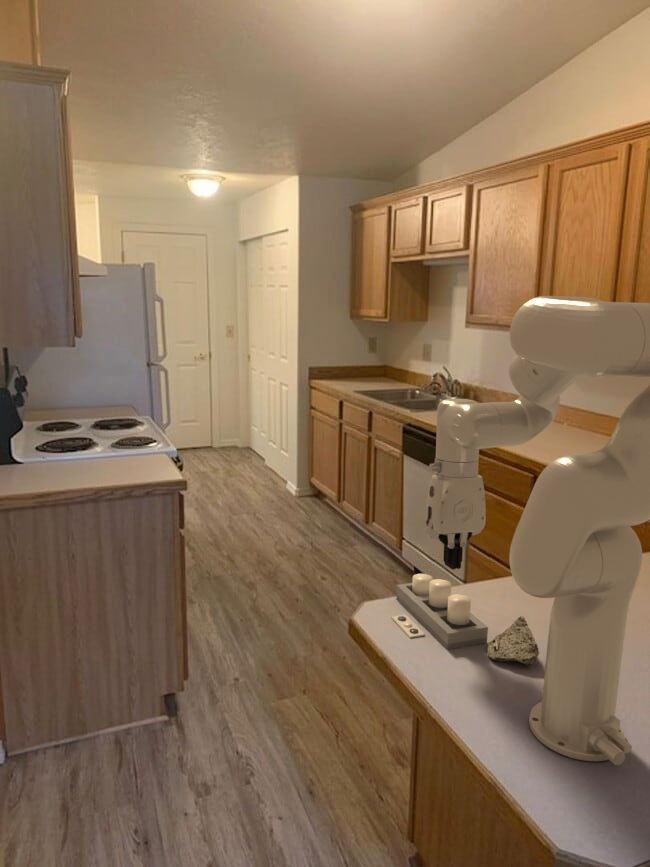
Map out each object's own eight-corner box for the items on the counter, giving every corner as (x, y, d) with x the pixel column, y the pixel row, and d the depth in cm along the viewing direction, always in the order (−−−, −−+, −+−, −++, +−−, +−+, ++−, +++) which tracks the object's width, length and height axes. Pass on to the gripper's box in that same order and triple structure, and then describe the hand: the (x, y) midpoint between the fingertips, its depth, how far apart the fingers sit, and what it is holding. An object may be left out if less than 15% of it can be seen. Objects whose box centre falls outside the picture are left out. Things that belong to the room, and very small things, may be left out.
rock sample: (470, 623, 115) (511, 599, 112) (493, 641, 118) (534, 618, 115) (486, 675, 106) (532, 650, 103) (511, 692, 110) (555, 669, 107)
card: (424, 635, 118) (425, 633, 118) (410, 638, 117) (410, 635, 117) (405, 615, 125) (405, 613, 125) (391, 618, 124) (391, 615, 124)
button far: (435, 599, 129) (436, 580, 128) (417, 601, 128) (418, 582, 127) (426, 591, 133) (427, 572, 132) (408, 593, 131) (409, 574, 131)
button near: (473, 623, 116) (475, 602, 115) (454, 626, 114) (455, 605, 114) (462, 613, 119) (463, 593, 119) (442, 616, 118) (444, 595, 117)
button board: (486, 642, 116) (487, 627, 115) (447, 649, 113) (448, 633, 112) (430, 593, 135) (431, 580, 134) (396, 598, 132) (396, 584, 132)
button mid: (453, 606, 122) (455, 586, 121) (435, 609, 121) (436, 589, 120) (443, 597, 126) (444, 578, 125) (425, 600, 125) (426, 580, 124)
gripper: (429, 475, 109) (425, 578, 112) (504, 470, 114) (499, 569, 117) (409, 466, 116) (406, 564, 119) (481, 461, 121) (476, 555, 124)
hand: (452, 566), depth 118 cm, fingers closed
